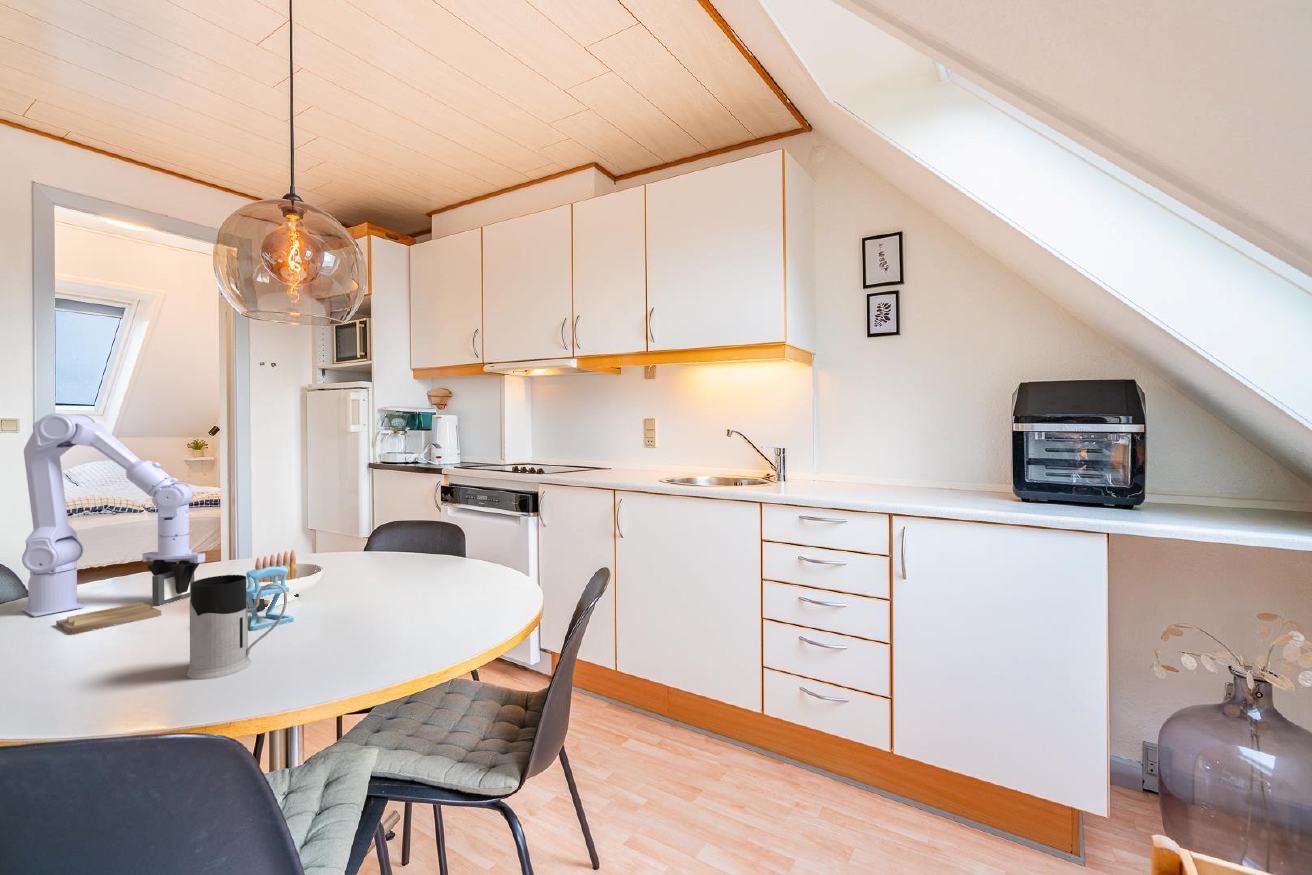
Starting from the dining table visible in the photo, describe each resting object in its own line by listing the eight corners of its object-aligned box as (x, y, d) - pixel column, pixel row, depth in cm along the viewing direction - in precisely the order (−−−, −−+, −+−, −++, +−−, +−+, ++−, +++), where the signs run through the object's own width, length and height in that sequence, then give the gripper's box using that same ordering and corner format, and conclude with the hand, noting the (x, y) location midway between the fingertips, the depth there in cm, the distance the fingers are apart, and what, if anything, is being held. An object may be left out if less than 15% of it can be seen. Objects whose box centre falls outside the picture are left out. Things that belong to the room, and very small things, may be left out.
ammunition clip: (257, 612, 128) (257, 558, 127) (251, 611, 128) (251, 558, 128) (299, 598, 138) (299, 549, 138) (293, 598, 138) (293, 548, 138)
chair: (280, 613, 127) (280, 559, 127) (294, 621, 122) (294, 564, 122) (239, 622, 121) (238, 565, 121) (251, 630, 116) (251, 571, 116)
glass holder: (198, 662, 100) (197, 576, 100) (292, 651, 105) (292, 569, 105) (177, 682, 92) (176, 589, 92) (280, 669, 97) (280, 581, 97)
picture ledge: (56, 625, 118) (56, 615, 118) (143, 607, 130) (143, 599, 130) (72, 634, 113) (72, 624, 113) (161, 615, 125) (161, 606, 125)
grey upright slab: (152, 606, 132) (152, 576, 132) (188, 595, 141) (188, 567, 141) (159, 606, 131) (158, 576, 131) (194, 595, 140) (194, 567, 140)
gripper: (216, 532, 139) (216, 588, 139) (162, 531, 141) (162, 586, 141) (189, 538, 132) (189, 596, 132) (133, 536, 134) (133, 594, 134)
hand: (174, 592), depth 136 cm, fingers open, 4 cm apart
